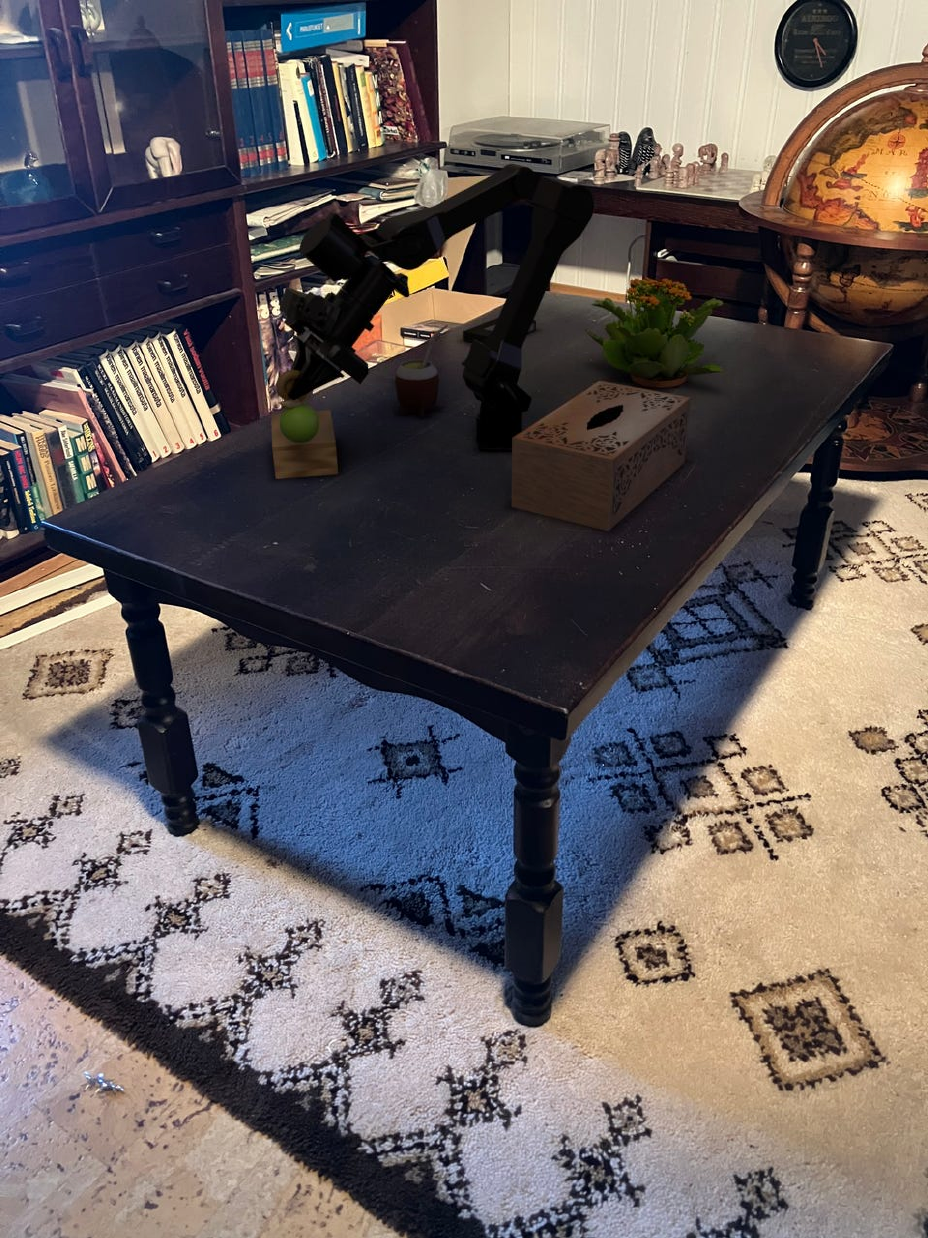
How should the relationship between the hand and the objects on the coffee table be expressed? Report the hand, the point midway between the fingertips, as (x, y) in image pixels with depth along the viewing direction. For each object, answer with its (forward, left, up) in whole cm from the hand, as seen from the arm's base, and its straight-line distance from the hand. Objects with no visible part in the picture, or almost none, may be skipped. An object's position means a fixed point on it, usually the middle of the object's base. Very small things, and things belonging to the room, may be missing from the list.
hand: (288, 395), depth 143 cm
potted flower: (-54, -47, -13) cm, 73 cm away
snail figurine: (-1, -1, -7) cm, 7 cm away
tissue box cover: (-43, -3, -13) cm, 45 cm away
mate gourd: (-14, -30, -13) cm, 36 cm away
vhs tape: (-25, -72, -13) cm, 78 cm away
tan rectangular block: (+1, -9, -13) cm, 16 cm away
